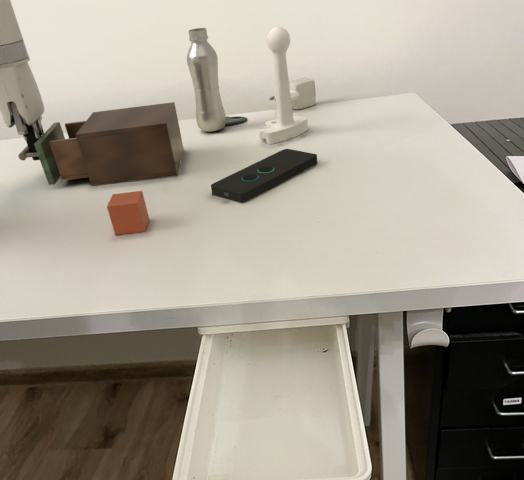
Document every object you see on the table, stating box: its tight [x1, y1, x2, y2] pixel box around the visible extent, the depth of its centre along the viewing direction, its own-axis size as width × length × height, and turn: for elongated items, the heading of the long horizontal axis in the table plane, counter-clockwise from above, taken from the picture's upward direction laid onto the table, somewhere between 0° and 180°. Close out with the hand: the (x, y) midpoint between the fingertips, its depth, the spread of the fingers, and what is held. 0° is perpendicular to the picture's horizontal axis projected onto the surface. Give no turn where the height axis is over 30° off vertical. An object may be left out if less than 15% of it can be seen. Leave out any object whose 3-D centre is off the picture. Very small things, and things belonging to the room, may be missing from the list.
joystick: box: [258, 26, 309, 145], centre depth 110 cm, size 11×8×20 cm
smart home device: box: [210, 148, 318, 203], centre depth 97 cm, size 8×2×20 cm
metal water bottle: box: [186, 27, 227, 132], centre depth 118 cm, size 6×7×20 cm
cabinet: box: [76, 101, 185, 187], centre depth 107 cm, size 17×15×10 cm
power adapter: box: [268, 77, 317, 110], centre depth 129 cm, size 11×5×6 cm, turn 122°
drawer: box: [17, 120, 89, 186], centre depth 107 cm, size 21×13×8 cm, turn 92°
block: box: [106, 190, 150, 236], centre depth 86 cm, size 5×5×5 cm
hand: (42, 158), depth 108 cm, fingers closed
